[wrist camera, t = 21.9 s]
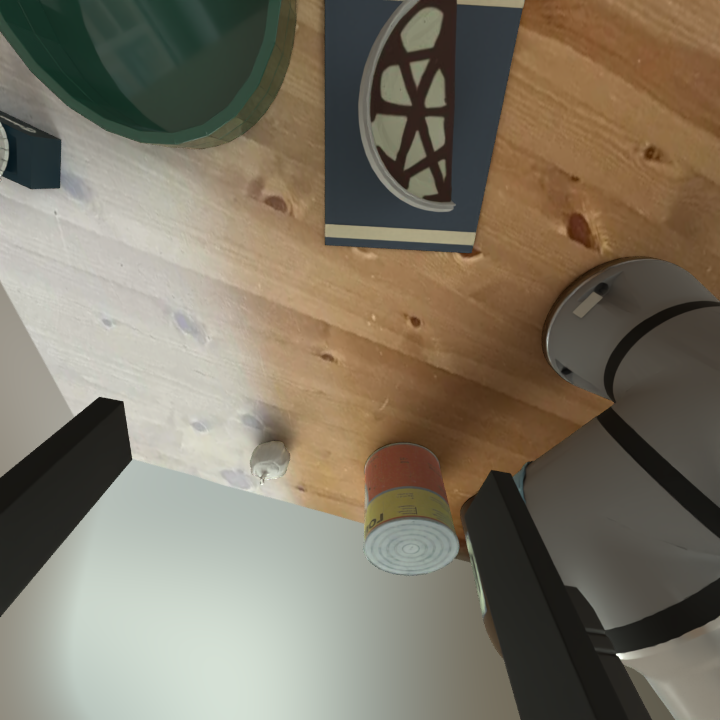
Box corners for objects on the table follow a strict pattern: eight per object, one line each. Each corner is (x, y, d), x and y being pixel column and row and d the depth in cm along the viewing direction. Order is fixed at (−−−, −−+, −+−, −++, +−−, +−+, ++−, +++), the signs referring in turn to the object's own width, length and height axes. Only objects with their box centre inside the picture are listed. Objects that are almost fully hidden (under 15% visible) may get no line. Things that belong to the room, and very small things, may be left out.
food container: (353, 40, 26) (345, -29, 17) (431, 29, 26) (465, -48, 17) (367, 210, 32) (366, 223, 23) (431, 204, 32) (455, 214, 23)
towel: (528, -28, 24) (531, -31, 24) (470, 252, 34) (471, 253, 34) (325, -40, 24) (324, -43, 24) (325, 244, 34) (325, 245, 34)
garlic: (275, 468, 50) (265, 497, 45) (246, 448, 48) (234, 477, 43) (301, 449, 48) (294, 477, 43) (273, 427, 46) (262, 455, 41)
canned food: (356, 449, 48) (352, 526, 37) (434, 436, 46) (453, 512, 36) (373, 500, 53) (375, 580, 42) (444, 489, 51) (463, 570, 41)
